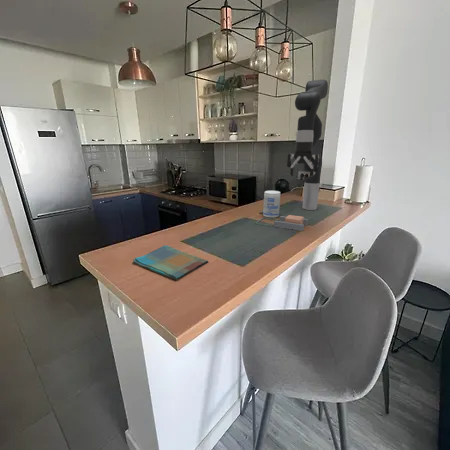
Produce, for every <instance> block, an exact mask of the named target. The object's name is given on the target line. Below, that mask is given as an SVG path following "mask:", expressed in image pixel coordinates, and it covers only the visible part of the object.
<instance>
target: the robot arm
mask: <svg viewBox="0 0 450 450" xmlns="http://www.w3.org/2000/svg"><path fill="white" fill-rule="evenodd" d="M328 89H329V85H328V81H327V80H326V79H317V80H314V79H313V80H309V81H308V80H307V82H306V84H305V91H302V92H300V93H298V94H297V96H296V98H295V100H294V106H295V108H296V110H297V111H301V112H302V111H303V112H304V111H305V115H303V116H300V117H299V118H298V119H297V130H296V137H295V150H294V153H288V155H287V161H286V162H287V163H286V167H287V168H290V171H289V173H290V175H291V177H294V176H295V167H296V166H297V165H298V164H303V170H304V172H308V173H309V176H307V177H305V178H304V183H303V185H304V186H303V197H302V207H301V208H302V209H303V210H307V211H316V210H317V209H318V203H319V193H320V182H321V173H322V168H323V158H322V156H320V154H319V153H318V154H317V153H316V154H313V149H314V147H315V146H316V145H317V143H318V142H319V141H320V139H321V137H322V134H323V133H322V131H323V123H322V121H321V118H320V117H319V116H318V115H319V114H318V113H317V112H318V109H319V107H320V105H321V100H322V99H323V100H324V99H325V98H326V97H327V95H328V92H329V91H328ZM293 158H294V161H293V163H292V160H293Z"/></svg>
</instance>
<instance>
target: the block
mask: <svg viewBox="0 0 450 450" xmlns="http://www.w3.org/2000/svg"><path fill="white" fill-rule="evenodd" d="M304 219H305V217H304V216H300V215H293V214H288V215H287V216H286V218H285V222H289V223H296V224H303V220H304Z"/></svg>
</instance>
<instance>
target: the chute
mask: <svg viewBox="0 0 450 450" xmlns="http://www.w3.org/2000/svg"><path fill="white" fill-rule="evenodd" d="M286 217H287V216H284V215H279V220H280V221H276V220H273V227H274V228H280V229H285V228H286V230H292V229H293V231H294V230H295V231H300V232H304V230H305V226H308V225H309V219H307V218H304V220H303V224H296V223H289V222H285V218H286Z"/></svg>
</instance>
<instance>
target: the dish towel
mask: <svg viewBox="0 0 450 450" xmlns="http://www.w3.org/2000/svg"><path fill="white" fill-rule="evenodd" d="M208 263H209V260H208V259H204V258H201V257H199V256H196V255H193V254H191V253H188V252H185V251H181V250H180V249H179V250H178V249H176V248H174V247H173V246H170V245H162V246H160V247H159V248H157V249H154V250H152V251H150V252H148V253H147V254H144V255H141V256H138V257H134V259H132V264H134V265H136V266H139V267H141V268H145V269H147V270H150V271H153V272H155V273H156V274H158V275H161V276H164V277H166V278H169V279H171V280H174V281H176V282H177V281H179V280H181V279H183V278H184V277H186V276H188V275H190V274H191V273H193V272H195V271H197V270H198V269H200V268H202V267H204V266H205V265H207V264H208Z"/></svg>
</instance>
